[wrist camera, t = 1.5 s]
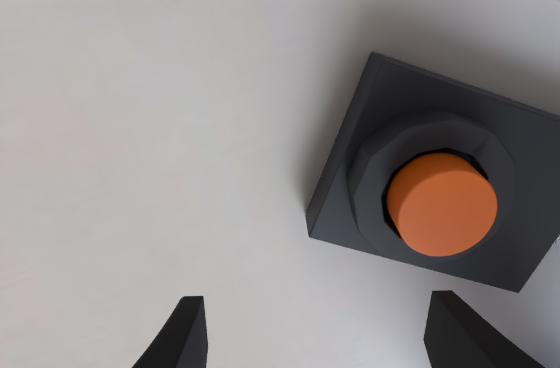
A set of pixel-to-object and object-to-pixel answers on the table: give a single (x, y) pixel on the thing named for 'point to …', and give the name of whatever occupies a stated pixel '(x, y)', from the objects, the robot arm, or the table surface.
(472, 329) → the robot arm
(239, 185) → the table surface
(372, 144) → the push button base
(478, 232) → the power button
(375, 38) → the table surface
